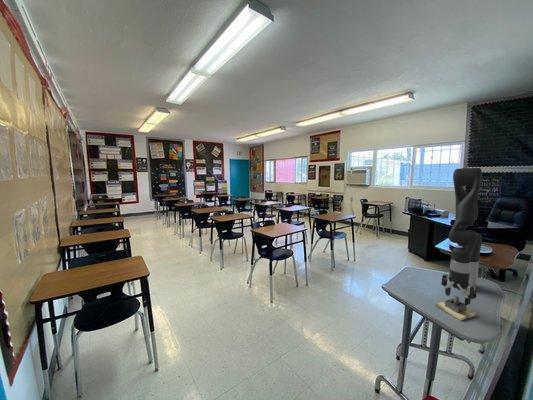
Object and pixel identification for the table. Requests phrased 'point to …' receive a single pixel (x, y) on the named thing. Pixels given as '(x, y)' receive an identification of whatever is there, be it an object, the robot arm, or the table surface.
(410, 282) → the table surface
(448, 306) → the link
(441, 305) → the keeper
